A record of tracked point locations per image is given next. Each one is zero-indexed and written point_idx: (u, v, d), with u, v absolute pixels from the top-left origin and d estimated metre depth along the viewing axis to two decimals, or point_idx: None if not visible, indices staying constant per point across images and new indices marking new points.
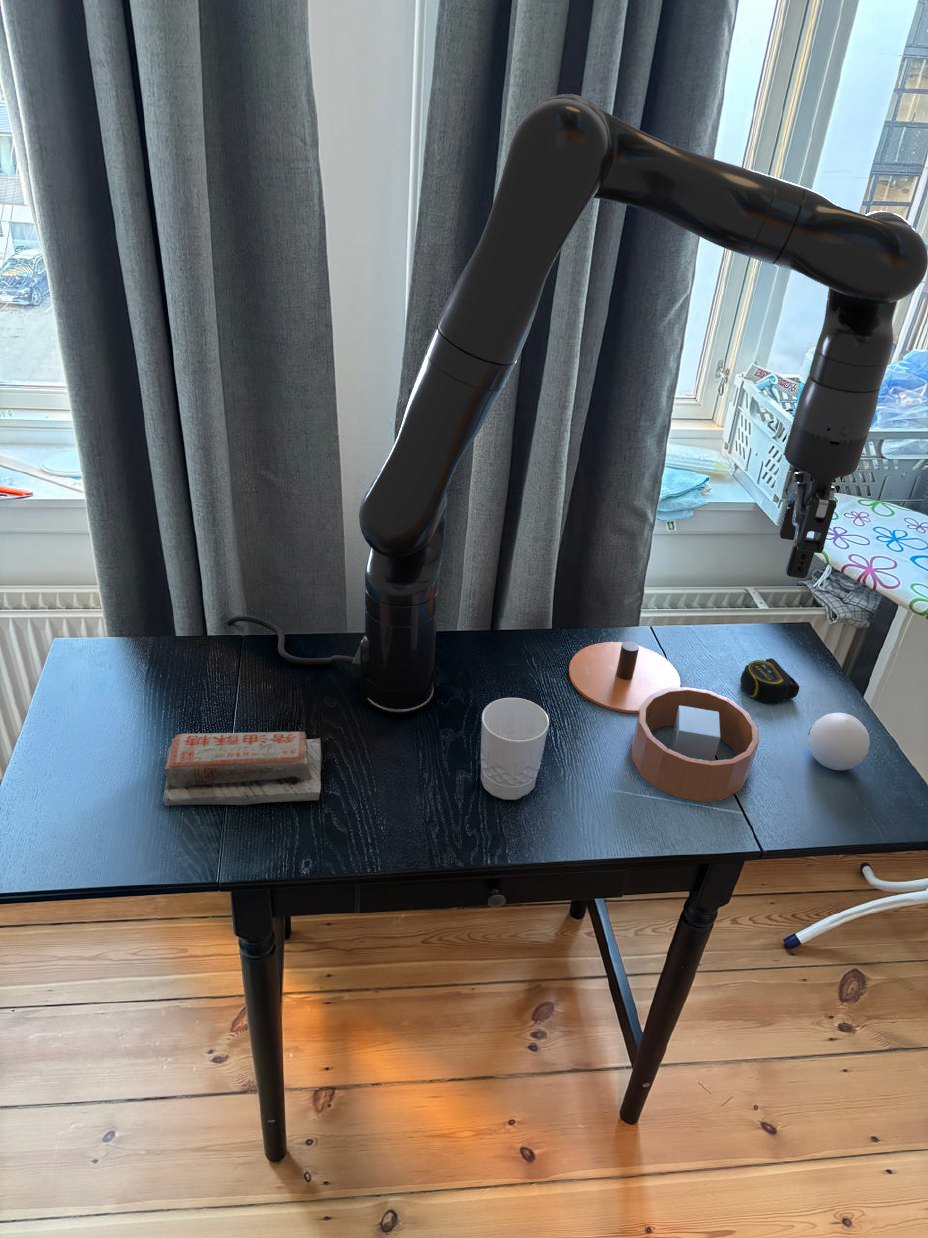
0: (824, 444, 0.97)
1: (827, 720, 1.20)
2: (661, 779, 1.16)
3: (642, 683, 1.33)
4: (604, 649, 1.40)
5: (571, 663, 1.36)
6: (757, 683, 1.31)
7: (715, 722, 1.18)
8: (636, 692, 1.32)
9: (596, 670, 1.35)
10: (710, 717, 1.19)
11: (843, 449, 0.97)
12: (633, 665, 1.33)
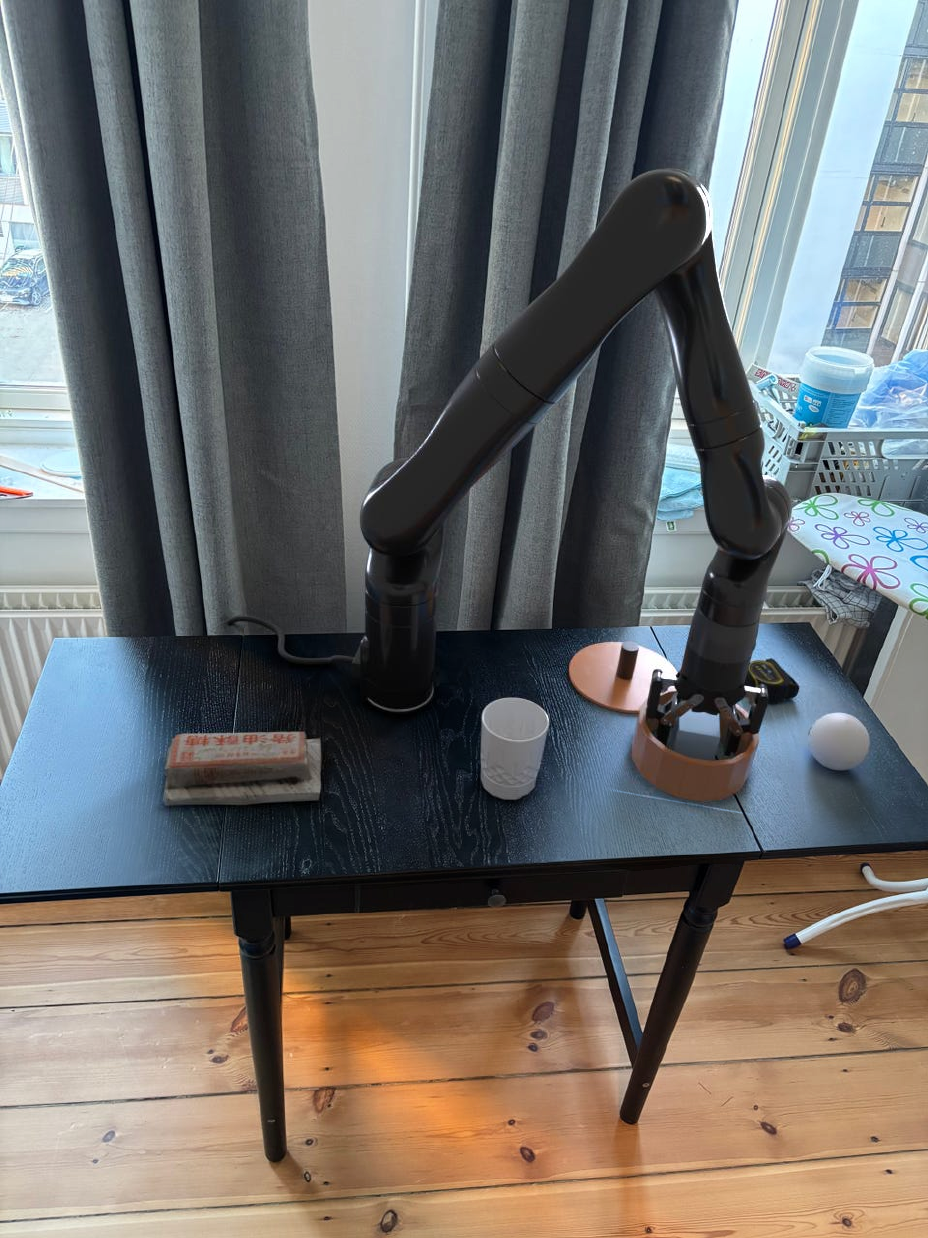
0: (687, 640, 1.13)
1: (827, 720, 1.20)
2: (661, 779, 1.16)
3: (642, 683, 1.33)
4: (604, 649, 1.40)
5: (571, 663, 1.36)
6: (757, 683, 1.31)
7: (715, 722, 1.18)
8: (636, 692, 1.32)
9: (596, 670, 1.35)
10: (710, 717, 1.19)
11: (688, 652, 1.12)
12: (633, 665, 1.33)
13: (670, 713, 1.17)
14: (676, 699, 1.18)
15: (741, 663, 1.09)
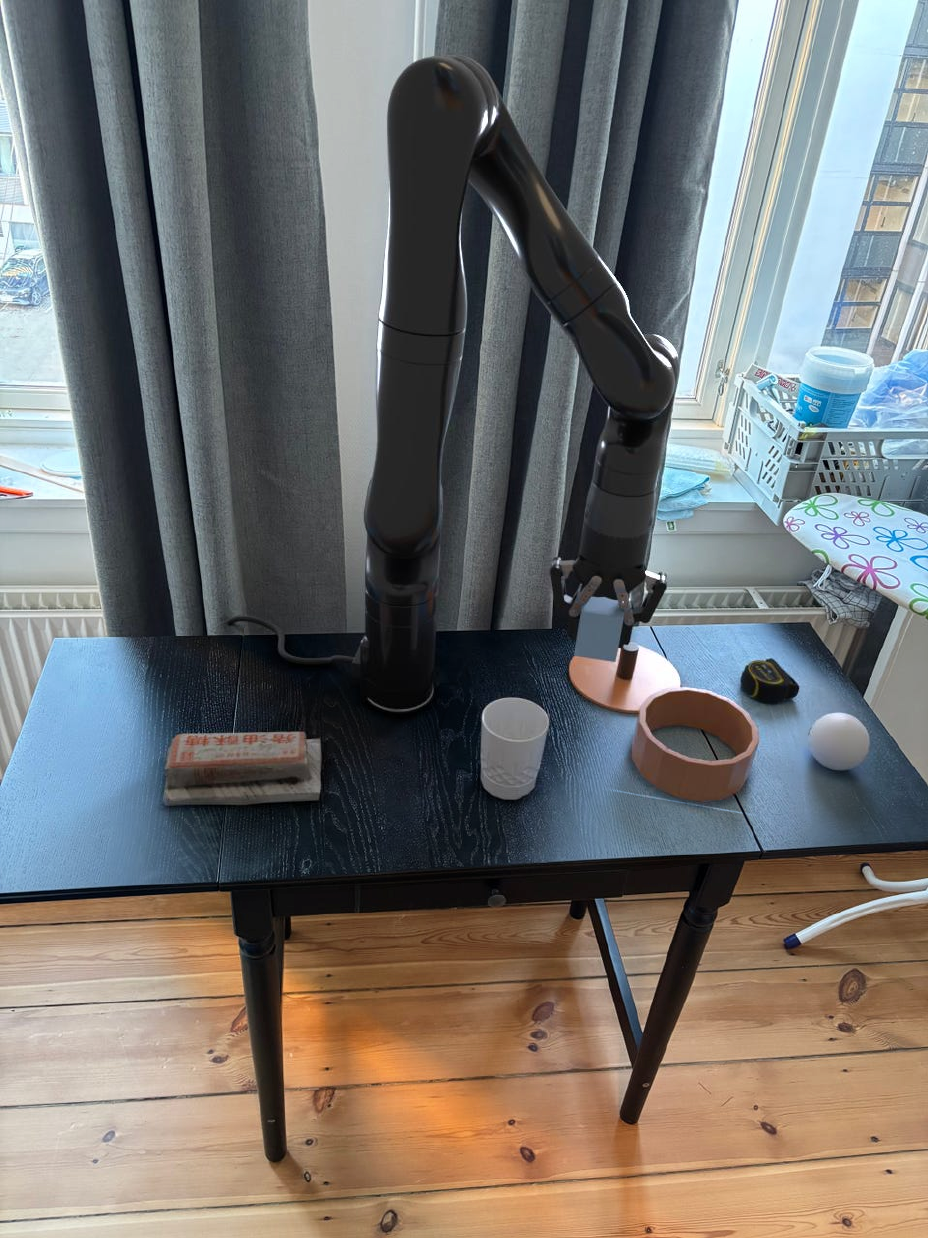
0: None
1: (827, 720, 1.20)
2: (661, 779, 1.16)
3: (642, 683, 1.33)
4: None
5: (571, 663, 1.36)
6: (757, 683, 1.31)
7: None
8: (636, 692, 1.32)
9: (596, 670, 1.35)
10: (615, 600, 1.15)
11: (584, 529, 1.08)
12: (633, 665, 1.33)
13: (578, 604, 1.13)
14: (581, 588, 1.14)
15: (637, 539, 1.05)
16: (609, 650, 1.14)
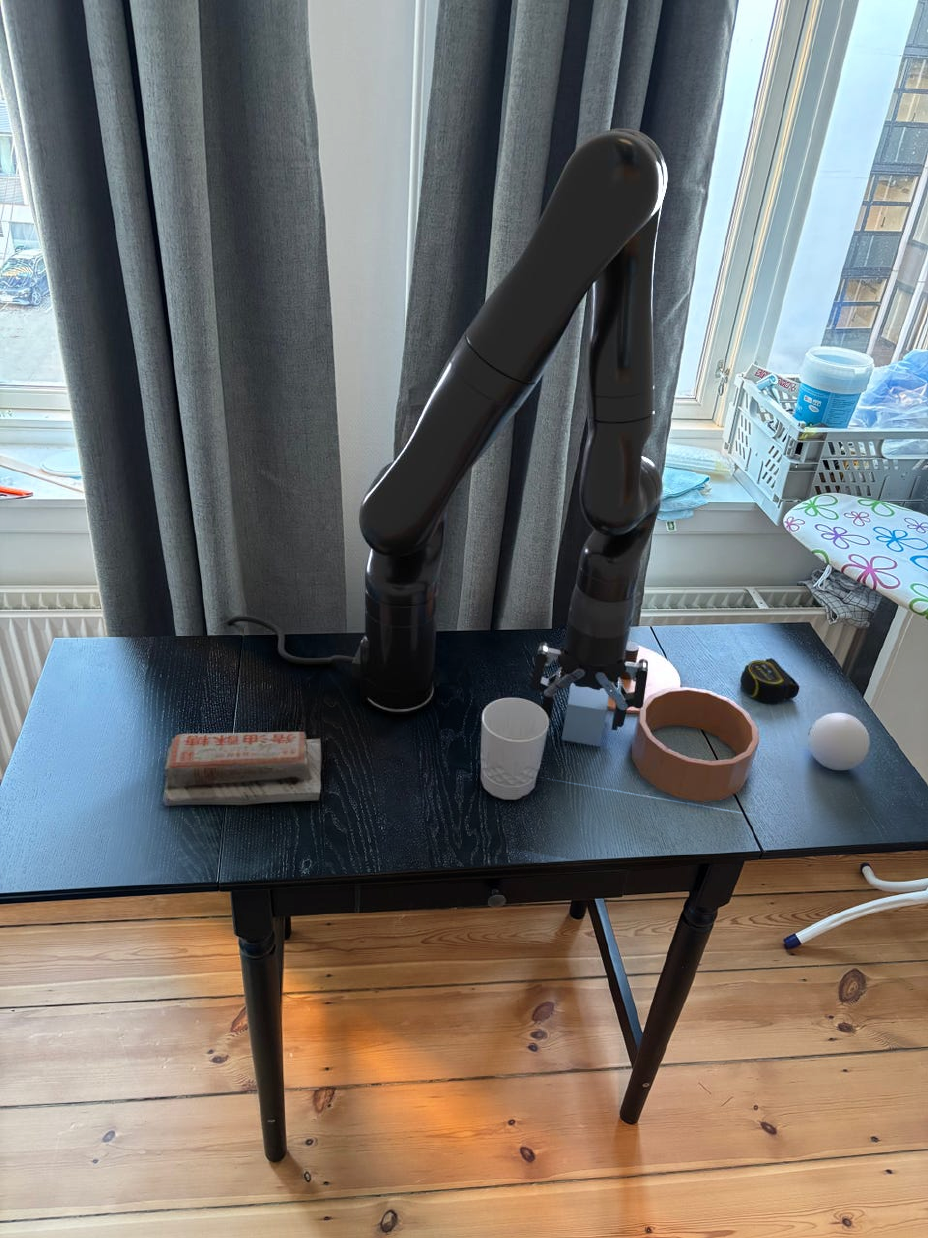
0: None
1: (827, 720, 1.20)
2: (661, 779, 1.16)
3: None
4: None
5: None
6: (757, 683, 1.31)
7: (604, 697, 1.22)
8: None
9: None
10: (600, 691, 1.23)
11: (568, 627, 1.15)
12: None
13: (552, 685, 1.20)
14: (561, 672, 1.21)
15: (617, 638, 1.13)
16: (593, 738, 1.22)
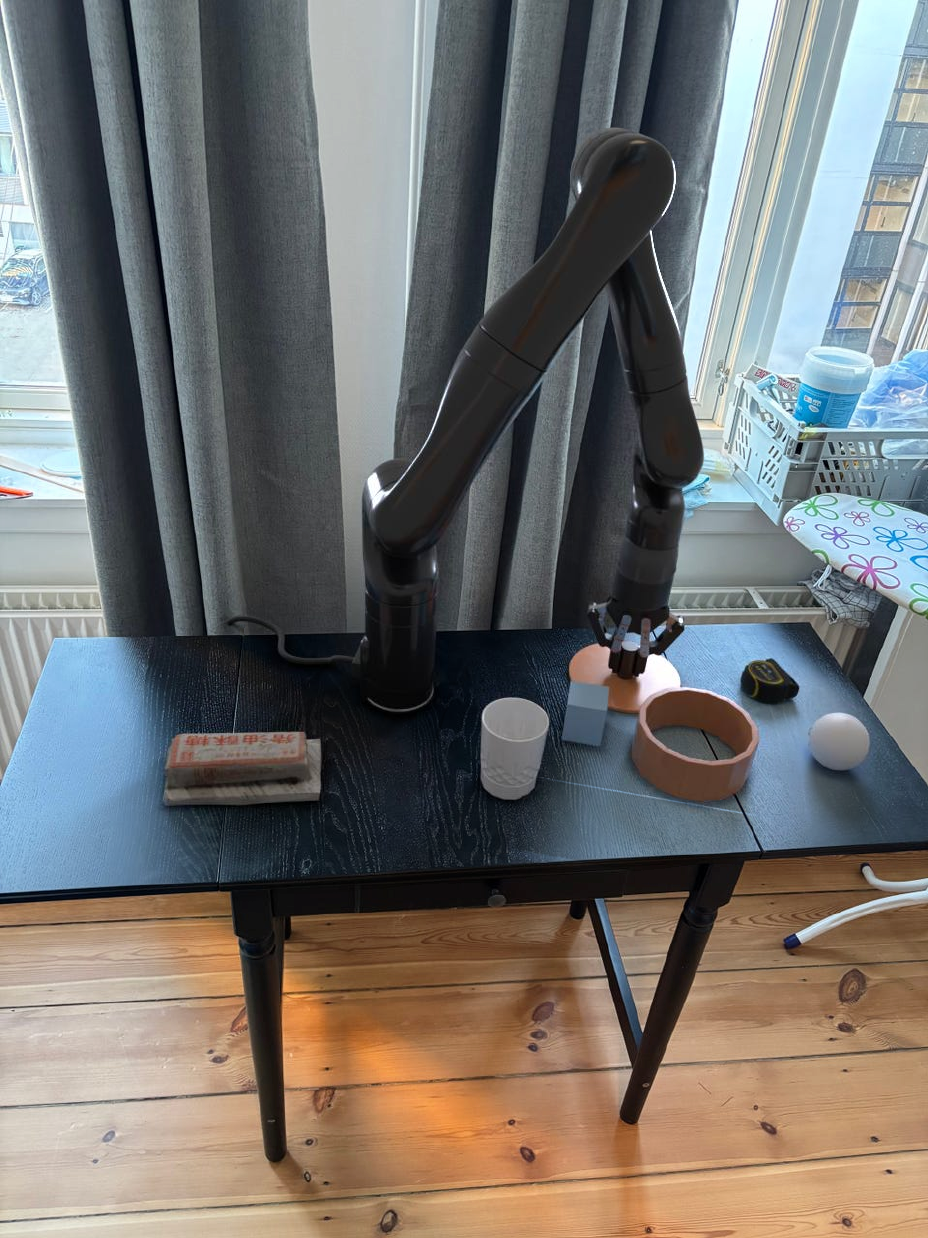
0: None
1: (827, 720, 1.20)
2: (661, 779, 1.16)
3: (642, 683, 1.33)
4: (604, 649, 1.40)
5: (571, 663, 1.36)
6: (757, 683, 1.31)
7: (604, 697, 1.22)
8: (636, 692, 1.32)
9: (596, 670, 1.35)
10: (600, 691, 1.23)
11: (617, 576, 1.25)
12: (633, 665, 1.33)
13: (619, 641, 1.31)
14: (617, 627, 1.31)
15: (663, 585, 1.23)
16: (593, 738, 1.22)
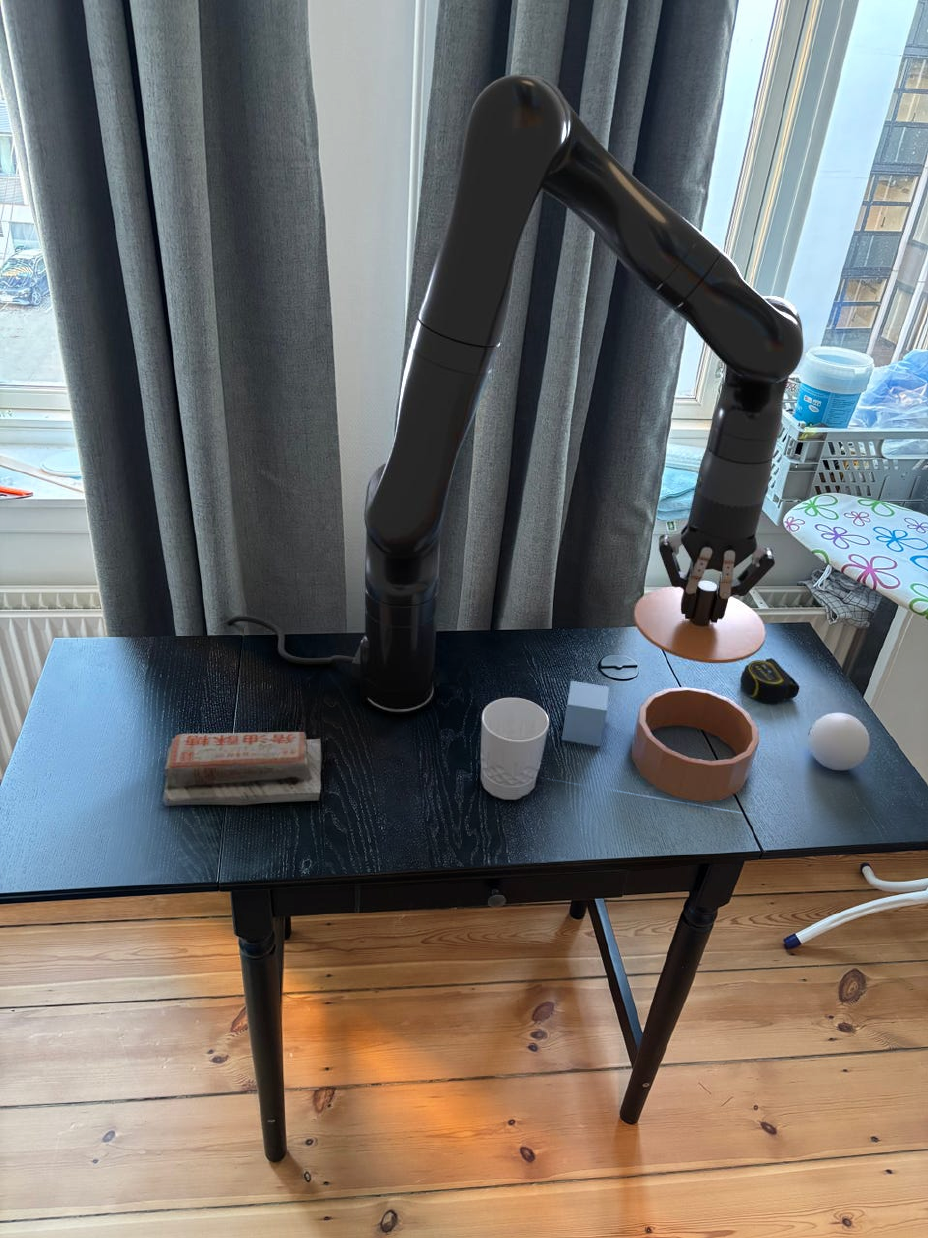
0: (695, 488, 1.07)
1: (827, 720, 1.20)
2: (661, 779, 1.16)
3: (721, 630, 1.14)
4: (672, 593, 1.20)
5: (636, 609, 1.17)
6: (757, 683, 1.31)
7: (604, 697, 1.22)
8: (715, 640, 1.12)
9: (665, 616, 1.16)
10: (600, 691, 1.23)
11: (696, 499, 1.06)
12: (711, 609, 1.13)
13: (696, 580, 1.11)
14: (693, 563, 1.12)
15: (753, 507, 1.03)
16: (593, 738, 1.22)
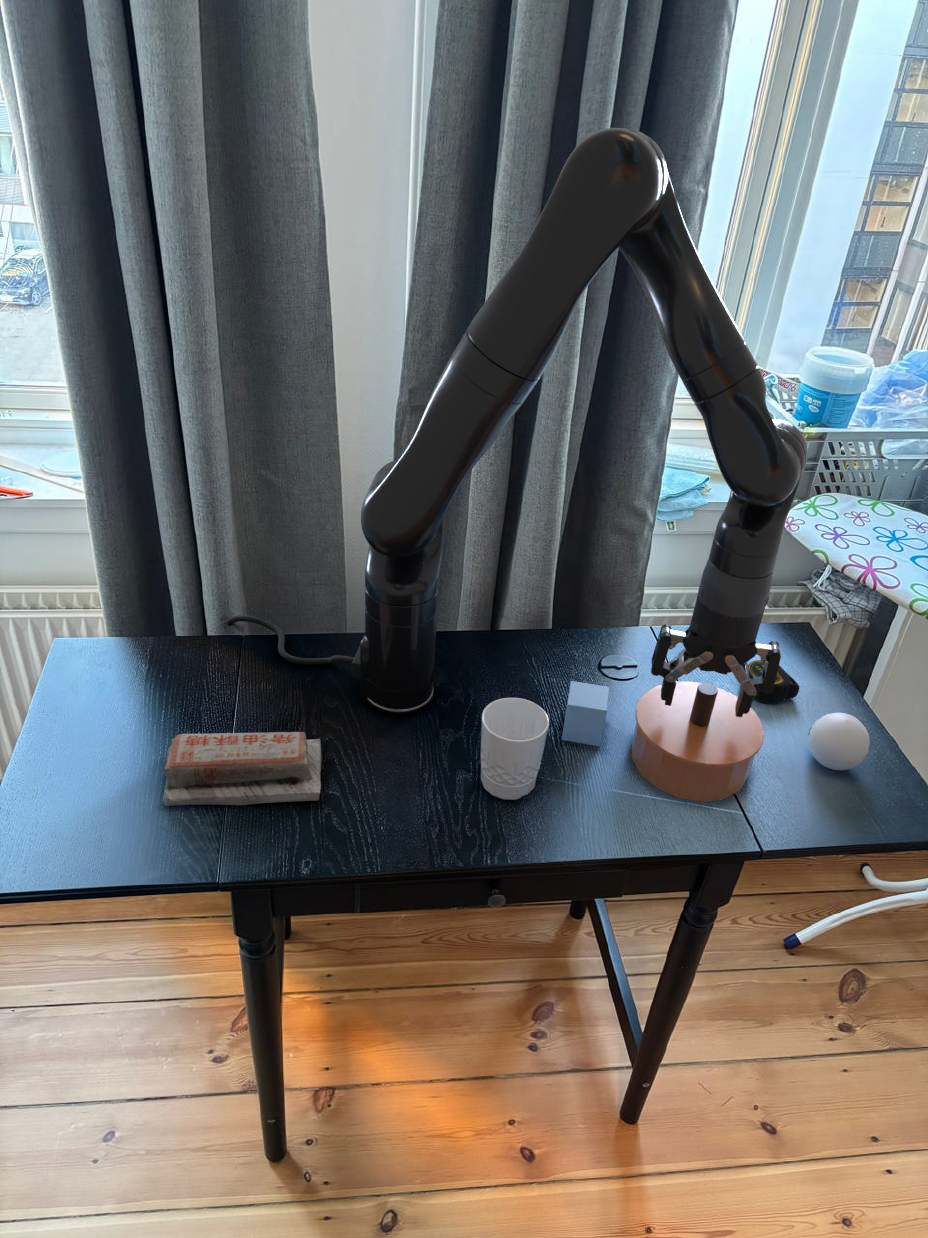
0: (697, 595, 1.10)
1: (827, 720, 1.20)
2: (661, 779, 1.16)
3: (720, 731, 1.17)
4: None
5: (638, 707, 1.20)
6: None
7: (604, 697, 1.22)
8: (714, 742, 1.15)
9: (666, 715, 1.19)
10: (600, 692, 1.23)
11: (698, 607, 1.08)
12: (710, 710, 1.16)
13: (675, 670, 1.13)
14: (683, 656, 1.14)
15: (754, 618, 1.06)
16: (593, 738, 1.22)
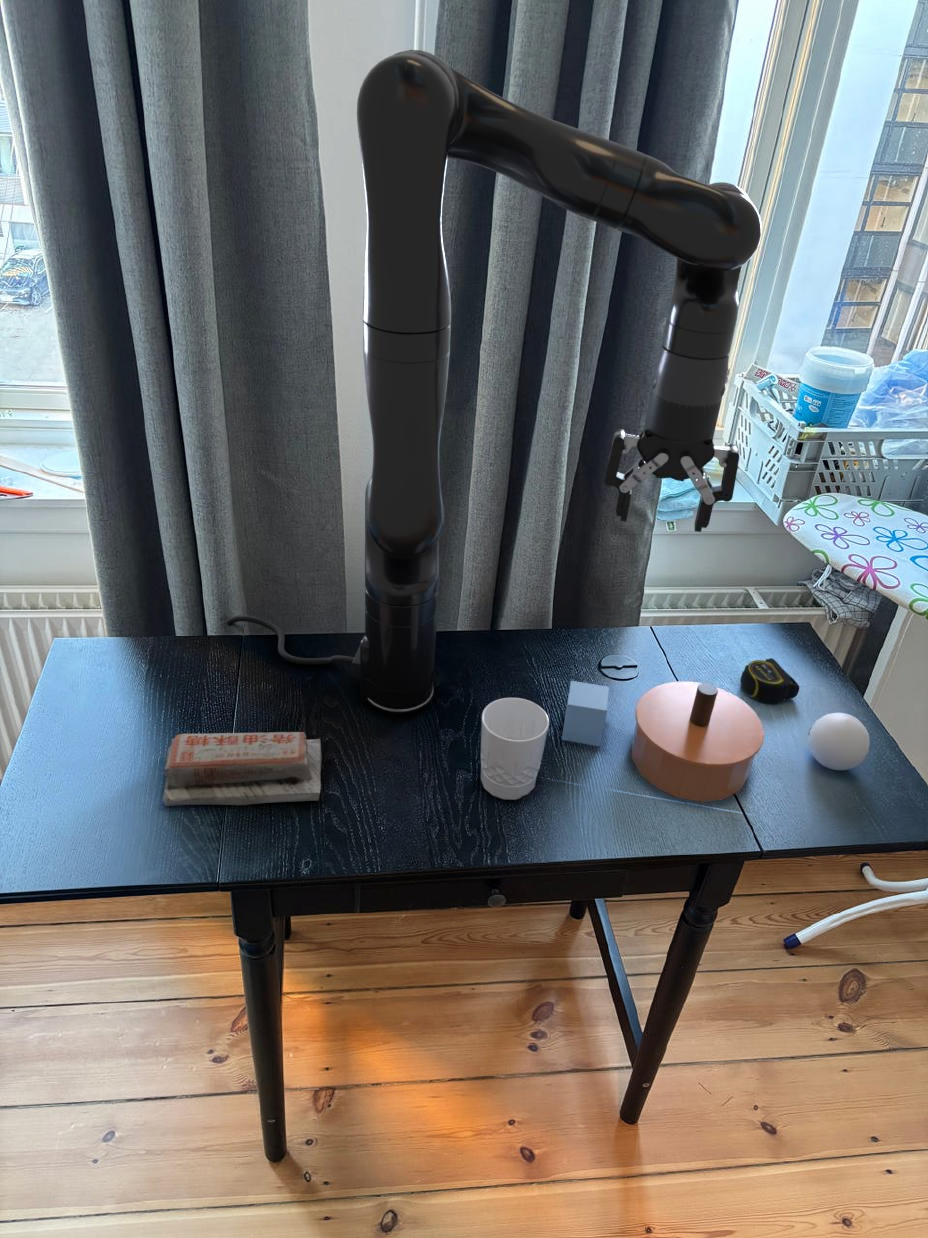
0: None
1: (827, 720, 1.20)
2: (661, 779, 1.16)
3: (720, 731, 1.17)
4: (673, 690, 1.23)
5: (638, 707, 1.20)
6: (757, 683, 1.31)
7: (604, 697, 1.22)
8: (714, 742, 1.15)
9: (666, 715, 1.19)
10: (600, 692, 1.23)
11: (651, 401, 1.02)
12: (710, 710, 1.16)
13: (630, 478, 1.07)
14: (639, 464, 1.08)
15: (709, 408, 1.00)
16: (593, 738, 1.22)
